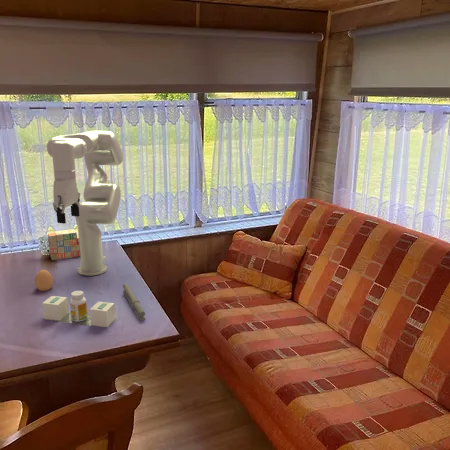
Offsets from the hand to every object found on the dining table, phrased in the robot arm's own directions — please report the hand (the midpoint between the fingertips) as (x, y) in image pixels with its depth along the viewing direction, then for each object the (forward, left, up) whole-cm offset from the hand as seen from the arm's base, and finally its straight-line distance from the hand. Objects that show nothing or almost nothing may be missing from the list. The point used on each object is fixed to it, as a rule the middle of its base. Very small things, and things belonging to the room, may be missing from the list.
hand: (68, 219), depth 175 cm
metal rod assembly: (+6, +28, -31) cm, 42 cm away
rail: (+21, +14, -30) cm, 39 cm away
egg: (+2, -12, -31) cm, 33 cm away
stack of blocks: (-38, -22, -31) cm, 53 cm away
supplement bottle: (+21, +14, -29) cm, 39 cm away
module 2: (+21, +23, -29) cm, 43 cm away
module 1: (+21, +5, -29) cm, 36 cm away
